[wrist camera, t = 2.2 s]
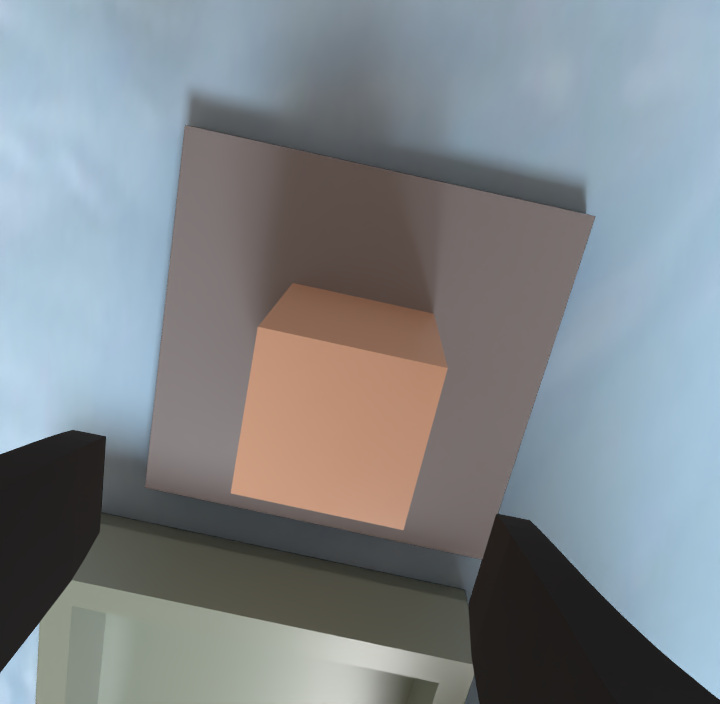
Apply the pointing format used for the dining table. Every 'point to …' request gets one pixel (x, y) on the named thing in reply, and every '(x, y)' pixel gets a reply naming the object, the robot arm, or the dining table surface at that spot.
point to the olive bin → (245, 627)
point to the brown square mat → (365, 280)
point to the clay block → (339, 405)
